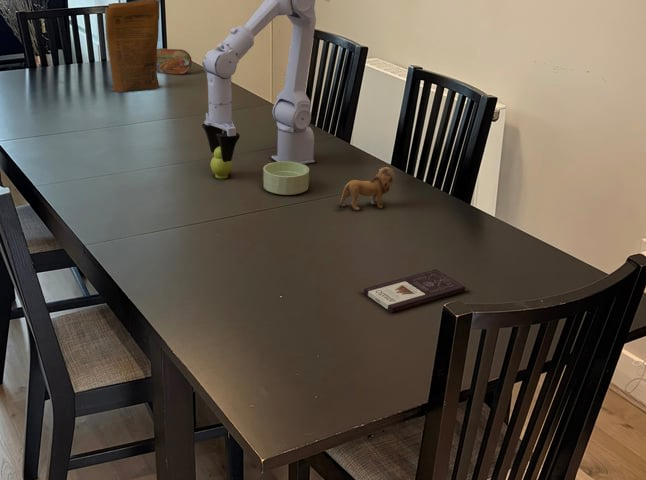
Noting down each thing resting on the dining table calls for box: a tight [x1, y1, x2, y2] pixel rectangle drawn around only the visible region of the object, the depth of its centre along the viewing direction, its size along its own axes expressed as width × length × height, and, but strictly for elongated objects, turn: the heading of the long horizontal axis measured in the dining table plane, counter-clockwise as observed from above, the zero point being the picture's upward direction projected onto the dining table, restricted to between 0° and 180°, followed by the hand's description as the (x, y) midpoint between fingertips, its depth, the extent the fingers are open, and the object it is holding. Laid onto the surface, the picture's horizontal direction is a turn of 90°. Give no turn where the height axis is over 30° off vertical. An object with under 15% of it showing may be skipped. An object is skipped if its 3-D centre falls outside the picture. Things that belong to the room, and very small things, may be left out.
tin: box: [157, 47, 193, 75], centre depth 300 cm, size 15×3×8 cm, turn 80°
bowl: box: [262, 161, 311, 196], centre depth 207 cm, size 11×11×5 cm
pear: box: [210, 146, 233, 180], centre depth 211 cm, size 6×6×9 cm
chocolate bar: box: [363, 269, 466, 313], centre depth 162 cm, size 9×1×18 cm
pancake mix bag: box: [104, 0, 160, 93], centre depth 274 cm, size 7×19×28 cm, turn 118°
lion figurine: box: [336, 166, 395, 211], centre depth 197 cm, size 15×5×9 cm, turn 116°
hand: (221, 156), depth 211 cm, fingers open, 7 cm apart
